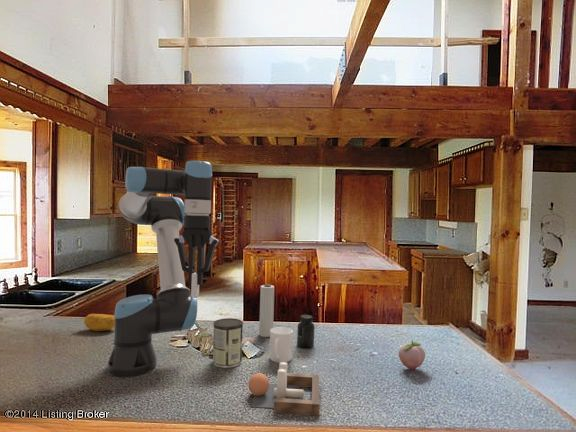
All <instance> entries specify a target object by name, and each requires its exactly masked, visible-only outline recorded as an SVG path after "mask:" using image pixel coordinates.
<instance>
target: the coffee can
mask: <svg viewBox="0 0 576 432" xmlns="http://www.w3.org/2000/svg"><path fill="white" fill-rule="evenodd" d="M243 326H244V321H243V320H241V319H239V318H233V317H232V318H231V317H227V318H220V319H217V320H214V322H213V341H212V342H213V344H212V345H213V347H212V348H213V349H212V353H213V354H212V355H213V356H212V359H213V360H212V364H213V365H214V366H216V367H218V368H222V369H223V368H224V369H230V368H234V367H235V368H236V367H238V366H240V365H241V364H242V363H243Z"/></svg>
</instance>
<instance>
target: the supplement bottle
mask: <svg viewBox="0 0 576 432" xmlns="http://www.w3.org/2000/svg"><path fill="white" fill-rule="evenodd" d="M313 321H314V320H313V315H310V314H301V315H300V320H299V322H298V324H297V332H296V333H297V334H296V335H297V336H296V346H297V347H298V348H299V349H303V350H308V349H313V348H314V346H315V331H316V330H315V328H316V326H315V324H314V323H313Z"/></svg>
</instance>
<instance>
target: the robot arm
mask: <svg viewBox="0 0 576 432" xmlns="http://www.w3.org/2000/svg"><path fill="white" fill-rule="evenodd" d="M212 168H213V167H212V163H210V162H209V161H202V160H189V161H187V162H185V168H184V170H181V169H166V168H156V167H146V166H145V167H144V166H129V167H127V168H126V171H125V178H124V179H125V182H124V183H125V185H124V186H125V190H126V193H125V194H123V195H122V196H121V197H120V199H119V201H118V204H117V206H118V207H117V208H118V212H119V214H120V215H121V216H122V217H123V218H124V219H125V220H127V221H128V222H129V223H133V224H135V225H140V226H150V228H151V231H152V232H154V234H155V237H156V247H157V248H156V249H157V260H158V261H157V262H158V270H159V271H158V272H159V285H160V291H158V293H157V294H156V298H154V297H153V295H152V294H136V295H135V294H134V295H131V296H128V297H127V296H126V297H124V298H123V299H120V300H118V302H116V304H115V309H114V314H113V315H114V318H115V327H114V332H113V348H112V350H111V353H110V356H109V359H108V361H107V369H106V370H107V373H108V374H109V375H112V376H115V377H126V378H127V377H136V376H140V375H144V374H147V373H149V372H151V371H153V370H154V369H155V368H156V367H157V361H158V360H157V355H156V352H155V349H154V346H153V343H152V342H153V341H152V340H153V339H152V337H153V335H157V334H164V333H172V332H173V333H174V332H182V331H185V330H191V329H192V328H193V327H194V326H195V323H196V320H197V316H198V299H197V297H198V296H200V286H201V285H203V278H204V273H206V272H209V270H210V269H211V264H212V262H213V257H214V254H215V250H216V247H217V246H218V244H219V243H220V240H219V238H215V237H214V236H213V234H212V232H211V216H210V214H211V212H212V182H213V181H212V180H213V179H212V177H213V169H212ZM154 194H160V195H161V194H162V195H168V196H162V195H161V196H159V195H154ZM171 195H177V196H178V195H181V196H184V201H183V200H182V199H181V197H177V196H171ZM182 228H183V231H182V233H181V235H180V231H181V230H182ZM208 241H209V242H208ZM185 242H186V245H187V246H188V247H187V250H188V255H187V251H186V246H185V244H184V243H185ZM207 243H209V246H208V247H209V248H208V250H207V254H206V257H205V245H206V244H207ZM196 251H197V254H196ZM196 255H197V257H196ZM187 256H188V257H187ZM196 258H197V260H196ZM204 258H205V259H204ZM185 272H187V274H188V284H189V285H191V289H190V288H188V287H187V286H186V281H185Z"/></svg>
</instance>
